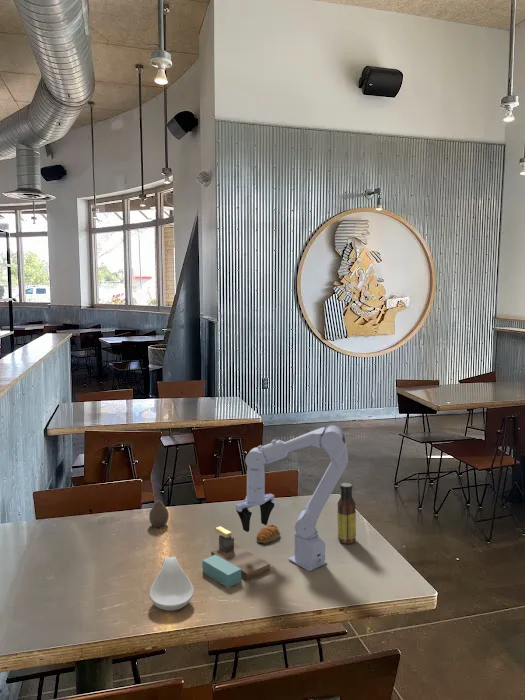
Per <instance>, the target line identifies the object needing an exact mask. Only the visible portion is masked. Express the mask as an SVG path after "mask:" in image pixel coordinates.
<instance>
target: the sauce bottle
mask: <svg viewBox="0 0 525 700" xmlns="http://www.w3.org/2000/svg"><path fill="white" fill-rule="evenodd" d="M352 491H353V484H352V483H349V482H342V483H340V498H339V500H338V501H337V540H338V541H339V542H340V543H342V544H346V545H349V544H350V545H351V544H354V543H356V540H357V514H356V513H357V512H356V511H357V510H356V502H355V500H354V498H353V492H352Z"/></svg>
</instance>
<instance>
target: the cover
mask: <svg viewBox="0 0 525 700" xmlns="http://www.w3.org/2000/svg"><path fill="white" fill-rule="evenodd" d="M201 561H202V562H201V563H202V573H203V574H205V573H206V574H205V575H207V576H209V577H210V578H211V579H213V580H215V581H217V582H218V583H220V584H221V585H223V586H224V587H226V588H230V587H232V586H235V585H237V584H239V583H241V582H242V577H241V569H240V568H239V567H237V566H235V565H233V564H231V563H230V562H228V561H226V560H224V559H222V558H221V557H219V556H217V555H213V556H211V555H210V556H209V557H207V558H203V559H202V560H201Z"/></svg>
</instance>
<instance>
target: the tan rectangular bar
mask: <svg viewBox="0 0 525 700" xmlns="http://www.w3.org/2000/svg"><path fill="white" fill-rule="evenodd" d="M214 532H215V534H217V535H218V536H220V535H221V536H222V537H224V538H226V539H227V538H230V537H231V536H232V531H230V530H228V529H227V528H226V529H225V528H224V527H223V526H221V525H220V526H217V527H215V528H214Z"/></svg>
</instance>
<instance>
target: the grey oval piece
mask: <svg viewBox="0 0 525 700" xmlns="http://www.w3.org/2000/svg"><path fill="white" fill-rule="evenodd" d="M148 514H149V515H148V516H149V517H148V519H149V523H150V524H151V525H152V527H154V528H157V527H160V528H162V526H163V527H165V526H166V525H167V523H168V521H169V510H168V508H167V506H165V505H164V503H163V501H161V500H158V501H157V500H156V501H155V503H154V504H153V505H152V507H151V509H150V510H149V513H148Z"/></svg>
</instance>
